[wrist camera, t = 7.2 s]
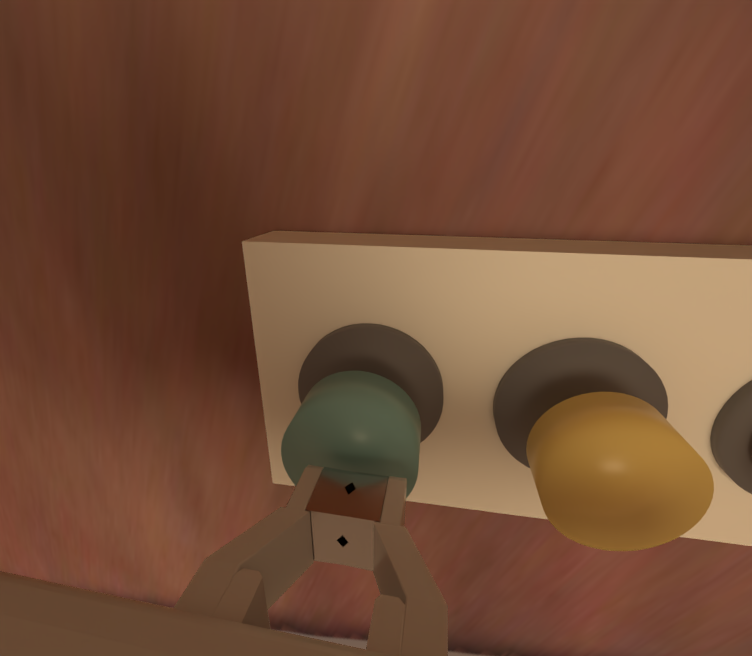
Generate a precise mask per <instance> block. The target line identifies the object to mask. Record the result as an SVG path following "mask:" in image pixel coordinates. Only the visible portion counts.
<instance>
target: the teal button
mask: <svg viewBox="0 0 752 656" xmlns="http://www.w3.org/2000/svg"><path fill="white" fill-rule="evenodd" d="M420 439H421V421H420V416H419V413H418V410H417V408H416V406H415V404H414V402H413V401H412V399H411V398H410V397H409V395H408V394H407V393H406V392H405V391H404V390H403V389H402V388H400V387H399V386H398V385H397V384H395V383H394V382H392V381H391V380H389V379H387V378H385V377H382V376H380V375H377V374H374V373H370V372H365V371H343V372H338V373H334V374H332V375H329V376H327V377H325V378H323V379H322V380H320V381H319V382H318V383H316V384H315V385H314V386H313V387H312V388H311V390H310V391H309V392H308V394H307V396H306V397H305V399H304V401H303V402H302V404H301V406H300V407H299V409H298V411H297V412H296V414H295V416H294V417H293V419H292V421H291V422H290V424H289V426H288V427H287V429H286V431H285V433H284V436H283V439H282V444H281V457H282V462H283V465H284V468H285V470H286V472H287V474H288V476H289V478H290V479H291V481H292V482H293V483H294V485H295V486H296V485H297V483H298V481H299V479H300V477H301V475H302V473H303V471H304V469H305V468H306V467H307V466H308V465H313V466H319V467H328V468H334V469H340V470H346V471H352V472H361V473H368V474H376V475H384V476H389V477H390V476H393V477H401V478H406V479H407V489H406V498H407V497H408V496H409V494H410V493H411V492H412V490H413V488H414V486H415V484H416V481H417V476H418V468H419V453H420Z"/></svg>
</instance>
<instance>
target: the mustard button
mask: <svg viewBox="0 0 752 656" xmlns="http://www.w3.org/2000/svg"><path fill="white" fill-rule="evenodd" d="M526 452H527V459H528V463H529V466H530V469H531V472H532V475H533V479H534V482H535V485H536V488H537V491H538V495H539V498H540V501H541V504H542V507H543V510H544V512H545V515H546V516H547V518H548V520H549V521H550V523H551V524H552V525H553V526H554V527H555V528H556V529H557V530H558V531H559V532H561V533H562V534H563V535H565V536H566V537H568V538H570V539H571V540H573V541H575V542H578V543H580V544H583V545H585V546H589V547H592V548H596V549H602V550H610V551H633V550H641V549H647V548H651V547H655V546H658V545H661V544H664V543H667V542H669V541H671V540H674V539H676V538H678V537H679V536H681V535H683V534H685V533H686V532H687V531H689V530H690V529H691V528H693V527H694V526H695V525H696V524H697V523H698V522H699V521H700V520H701V519H702V517H703V516H704V515H705V514H706V512H707V510H708V508H709V507H710V504H711V501H712V499H713V493H714V481H713V477H712V473H711V471H710V469H709V467H708V465H707V464H706V462H705V461H704V460H703V458H702V457H701V456H700V455H699V454H698V453H697V452H696V451H695V450H694V449H693V448H692V447H691V446H690V444H689V443H688V442H687V441H686V440H685V439H684V438H683V437H682V436H681V435H680V434H679V433H678V432H677V431H676V429H675V428H674V427H673V426H672V425H671V424H670V423H669V422H668V421H667V420H666V419H665V418H664V417H663V416H662V414H661V413H660V412H659V411H658V410H657V409H656V408H654V407H653V406H652V405H650V404H649V403H647V402H645V401H643V400H641V399H639V398H637V397H634V396H631V395H627V394H623V393H617V392H592V393H586V394H581V395H578V396H574V397H571V398H569V399H566V400H564V401H562V402H560V403H558V404H556V405H555V406H553V407H552V408H550V409H549V410H548V411H546V412H545V413H544V414H543V415H542V416H541V417H540V418H539V419H538V420H537V421H536V423H535V424H534V426H533V427H532V429H531V432H530V434H529V436H528V440H527V446H526Z"/></svg>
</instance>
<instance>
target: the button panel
mask: <svg viewBox="0 0 752 656" xmlns="http://www.w3.org/2000/svg"><path fill="white" fill-rule="evenodd" d="M242 247H243V255H244V263H245V271H246V279H247V286H248V294H249V302H250V310H251V318H252V325H253V333H254V341H255V349H256V356H257V364H258V372H259V380H260V388H261V395H262V403H263V411H264V419H265V427H266V434H267V442H268V450H269V458H270V466H271V473H272V481H273V483H275V484H283V485H290V486H295V485H294V483H293V482H292V481H291V479H290V478H289V476H288V474H287V472H286V470H285V468H284V465H283V462H282V457H281V444H282V439H283V436H284V433H285V431H286V429H287V427H288V426H289V424H290V422H291V421H292V419H293V417H294V416H295V414H296V412H297V411H298V409H299V407H300V406H301V404H302V402H303V401H304V399H305V397H306V396H307V394H308V392H309V391H310V390H311V388H312V387H313V386H314V385H315V384H316V383H318V382H319V381H320V380H322V379H323V378H325V377H327V376H329V375H332V374H334V373H338V372H343V371H365V372H370V373H374V374H377V375H380V376H382V377H385V378H387V379H389V380H391V381H392V382H394V383H395V384H397V385H398V386H399V387H400V388H402V389H403V390H404V391H405V392H406V393H407V394H408V395H409V397H410V398H411V399H412V401H413V402H414V404H415V406H416V408H417V410H418V413H419V416H420V421H421V439H420V453H419V468H418V476H417V481H416V484H415V486H414V488H413V490H412V492H411V493H410V494H409V496H408V497H407V498H406V501H412V502H420V503H427V504H435V505H443V506H450V507H458V508H466V509H473V510H481V511H488V512H496V513H504V514H511V515H519V516H527V517H534V518H542V519H548V518H547V516H546V515H545V512H544V510H543V507H542V504H541V501H540V498H539V495H538V491H537V488H536V485H535V482H534V479H533V475H532V472H531V469H530V466H529V463H528V459H527V452H526V446H527V440H528V436H529V434H530V432H531V429H532V427H533V426H534V424H535V423H536V421H537V420H538V419H539V418H540V417H541V416H542V415H543V414H544V413H545V412H546V411H548V410H549V409H550V408H552V407H553V406H555V405H556V404H558V403H560V402H562V401H564V400H566V399H569V398H571V397H574V396H578V395H581V394H586V393H592V392H617V393H623V394H627V395H631V396H634V397H637V398H639V399H641V400H643V401H645V402H647V403H649V404H650V405H652V406H653V407H654V408H656V409H657V410H658V411H659V412H660V413H661V414H662V416H663V417H664V418H665V419H666V420H667V421H668V422H669V423H670V424H671V425H672V426H673V427H674V428H675V429H676V431H677V432H678V433H679V434H680V435H681V436H682V437H683V438H684V439H685V440H686V441H687V442H688V443H689V444H690V446H691V447H692V448H693V449H694V450H695V451H696V452H697V453H698V454H699V455H700V456H701V457H702V458H703V460H704V461H705V462H706V464H707V465H708V467H709V469H710V471H711V473H712V477H713V481H714V493H713V499H712V501H711V504H710V507H709V508H708V510H707V512H706V514H705V515H704V516H703V517H702V519H701V520H700V521H699V522H698V523H697V524H696V525H695V526H694V527H693V528H691V529H690V530H689V531H687V532H686V533H685V534H683V535H681V536H679V537H687V538H694V539H702V540H709V541H717V542H725V543H732V544H740V545H748V546H752V245H723V244H691V243H659V242H626V241H594V240H562V239H530V238H497V237H465V236H433V235H401V234H368V233H336V232H304V231H271V232H268V233H265V234H262V235H259V236H256V237H253V238H250V239H247V240H244V241H242Z"/></svg>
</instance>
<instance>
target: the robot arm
mask: <svg viewBox="0 0 752 656" xmlns="http://www.w3.org/2000/svg"><path fill="white" fill-rule="evenodd" d="M406 489H407V479H406V478H401V477H393V476H390V477H389V476H384V475H376V474H368V473H361V472H352V471H346V470H340V469H334V468H328V467H319V466H313V465H308V466H307V467H306V468H305V469H304V471H303V473H302V475H301V477H300V479H299V481H298V483H297V485H296V487H295V490H294V492H293V494H292V496H291V498H290V500H289V502H288V504H287V506H286V508H284V507H280V508H279V509H277V510H276V511H274V512H273V513H271V514H270V515H268V516H267V517H266V518H264V519H263V520H261V521H260V522H258V523H257V524H255V525H254V526H252V527H251V528H249V529H248V530H247V531H245V532H244V533H242V534H241V535H239V536H238V537H236V538H235V539H233V540H232V541H230V542H229V543H228V544H226V545H225V546H223V547H222V548H220V549H219V550H217V551H216V552H214V553H213V554H211V555H210V556H209V557H207V558H206V559H205V560H204V561H203V563H202V564H201V566H200V567H199V569H198V571H197V572H196V574H195V575H194V577H193V578H192V580H191V582H190V583H189V585H188V586H187V588H186V589H185V591H184V592H183V594H182V596H181V597H180V599H179V600H178V602H177V603H176V605H175V607H174V608H170V607H165V606H160V605H156V604H151V603H146V602H142V601H137V600H132V599H128V598H123V597H118V596H114V595H109V594H104V593H100V592H95V591H90V590H86V589H81V588H77V587H72V586H67V585H63V584H58V583H53V582H49V581H44V580H39V579H35V578H30V577H26V576H21V575H16V574H12V573H7V572H2V571H0V656H448V605H447V604H446V602H445V600H444V598H443V596H442V594H441V592H440V590H439V589H438V587H437V585H436V583H435V581H434V579H433V577H432V575H431V574H430V572H429V570H428V568H427V566H426V564H425V562H424V560H423V558H422V557H421V555H420V553H419V551H418V549H417V547H416V545H415V543H414V542H413V540H412V538H411V536H410V534H409V532H408V530H407V528H406V527H404V521H405V507H406ZM313 560H314V561H321V562H328V563H335V564H341V565H347V566H351V567H356V568H361V569H366V570H370V571H373V573H374V576H375V579H376V582H377V585H378V588H379V591H380V594H381V595H380V596H379V597H377V598H376V599H375V604H374V609H373V615H372V620H371V626H370V631H369V636H368V642H367V647H366V650H365V649H361V648H356V647H351V646H346V645H342V644H337V643H332V642H328V641H323V640H318V639H314V638H309V637H304V636H300V635H295V634H291V633H286V632H281V631H277V630H272V629H270V623H269V617H268V609H269V608H270V607H271V606H272V605H273V604H274V603H275V602H276V601H277V600H278V599H279V597H280V596H281V595H282V594H283V593H284V592H285V591H286V590H287V589H288V588H289V587H290V586H291V585H292V584H293V583H294V582H295V581H296V580H297V579H298V578H299V577H300V576H301V575H302V574H303V573H304V572H305V571H306V570H307V569H308V568H309V567H310V566H311V565H312V564H313Z"/></svg>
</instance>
